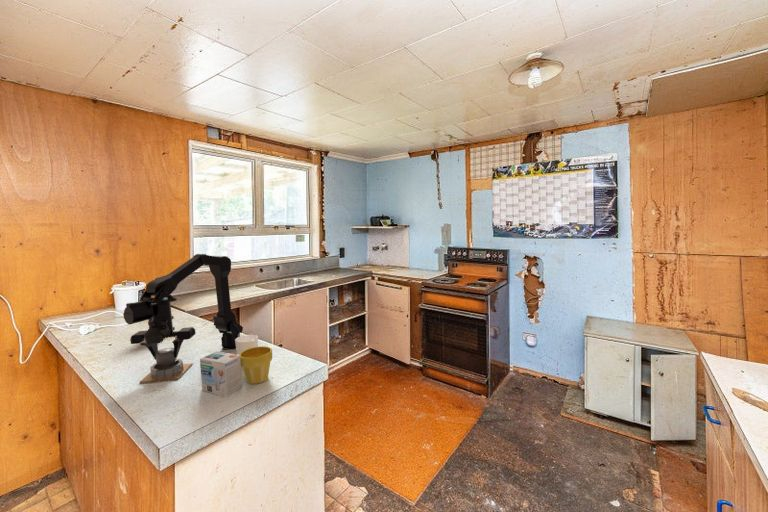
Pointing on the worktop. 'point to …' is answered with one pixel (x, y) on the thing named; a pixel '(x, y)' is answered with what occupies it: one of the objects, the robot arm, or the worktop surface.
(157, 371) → the ring mount
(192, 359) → the worktop surface
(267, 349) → the plant pot
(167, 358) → the gray tapered cylinder
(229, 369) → the light bulb box
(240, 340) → the white cup
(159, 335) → the robot arm
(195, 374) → the worktop surface
